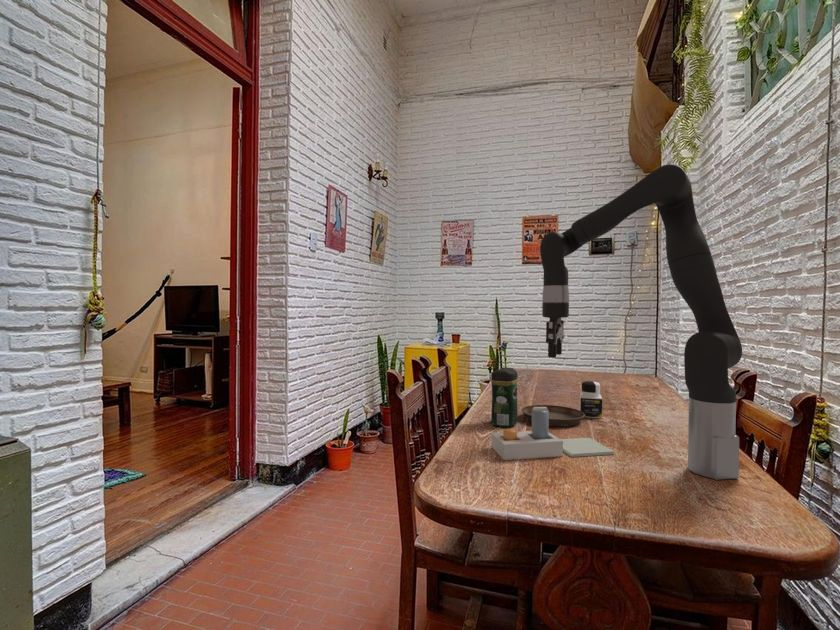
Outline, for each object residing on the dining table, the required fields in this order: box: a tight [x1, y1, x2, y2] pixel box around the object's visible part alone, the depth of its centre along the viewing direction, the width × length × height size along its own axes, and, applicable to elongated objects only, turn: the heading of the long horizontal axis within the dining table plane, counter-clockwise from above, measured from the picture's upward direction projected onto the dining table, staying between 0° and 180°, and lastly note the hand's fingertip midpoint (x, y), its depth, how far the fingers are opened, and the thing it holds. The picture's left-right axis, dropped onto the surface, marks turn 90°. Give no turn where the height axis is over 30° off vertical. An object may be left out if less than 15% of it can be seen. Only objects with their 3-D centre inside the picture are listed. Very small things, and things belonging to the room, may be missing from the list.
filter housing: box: [490, 430, 564, 461], centre depth 118 cm, size 16×10×4 cm, turn 100°
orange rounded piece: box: [502, 427, 518, 441], centre depth 117 cm, size 4×4×3 cm
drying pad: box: [559, 437, 615, 458], centre depth 120 cm, size 12×12×1 cm
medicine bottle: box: [578, 380, 604, 419], centre depth 155 cm, size 7×7×12 cm
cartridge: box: [531, 407, 550, 440], centre depth 118 cm, size 4×4×12 cm
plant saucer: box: [520, 404, 585, 427], centre depth 150 cm, size 21×21×3 cm
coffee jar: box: [490, 366, 519, 428], centre depth 145 cm, size 10×8×19 cm
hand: (555, 355), depth 130 cm, fingers open, 8 cm apart
